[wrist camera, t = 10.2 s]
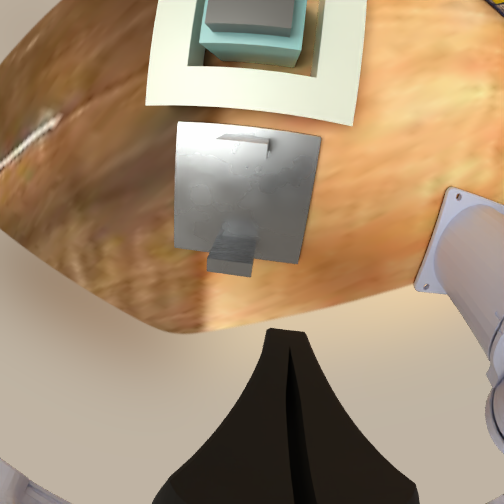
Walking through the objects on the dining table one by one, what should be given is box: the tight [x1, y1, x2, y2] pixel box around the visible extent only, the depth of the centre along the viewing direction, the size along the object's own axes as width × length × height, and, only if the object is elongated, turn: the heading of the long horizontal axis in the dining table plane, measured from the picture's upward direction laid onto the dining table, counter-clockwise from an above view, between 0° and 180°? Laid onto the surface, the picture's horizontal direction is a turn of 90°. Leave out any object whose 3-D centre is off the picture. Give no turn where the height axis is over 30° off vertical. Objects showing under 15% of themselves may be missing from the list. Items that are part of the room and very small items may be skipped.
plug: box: [199, 0, 307, 68], centre depth 10 cm, size 4×4×7 cm
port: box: [146, 0, 367, 126], centre depth 11 cm, size 10×10×3 cm
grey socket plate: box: [174, 121, 321, 277], centre depth 16 cm, size 8×8×4 cm
